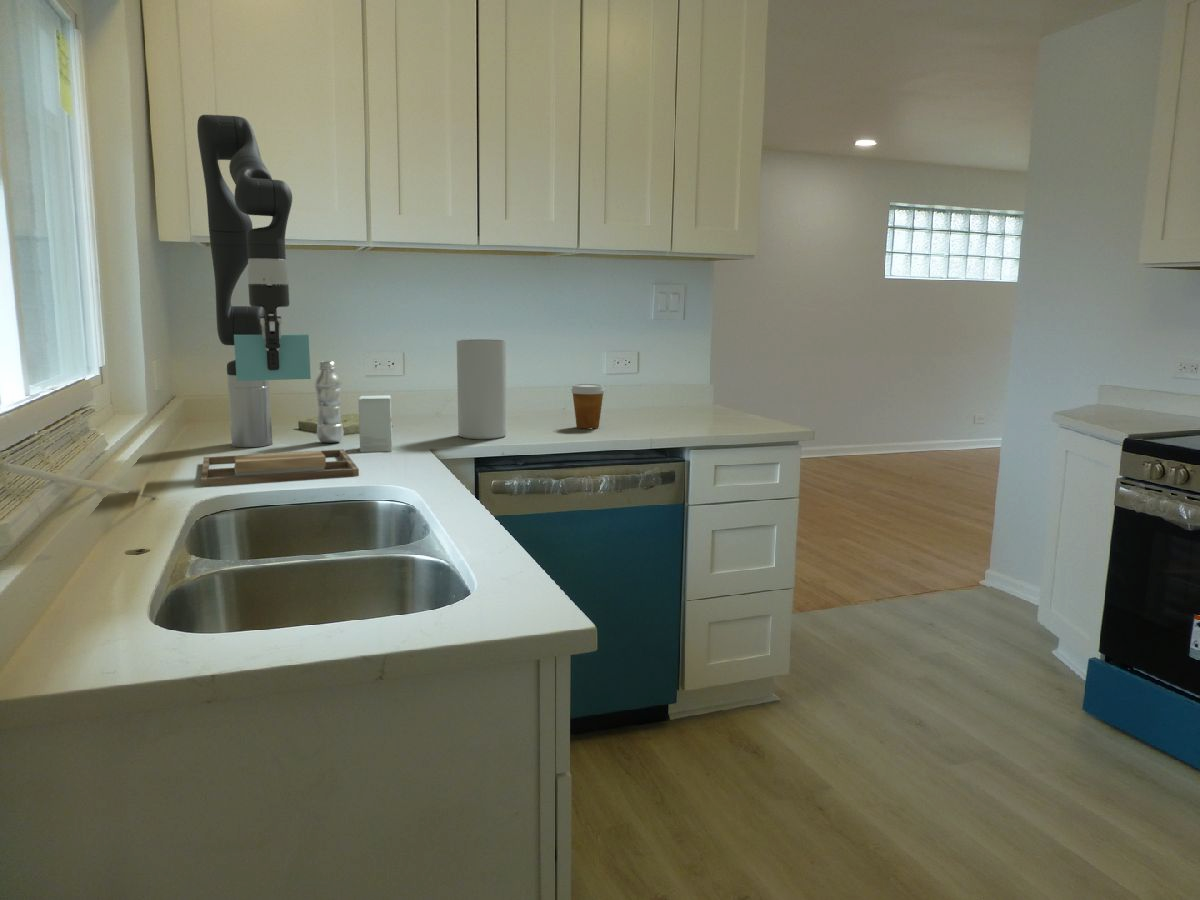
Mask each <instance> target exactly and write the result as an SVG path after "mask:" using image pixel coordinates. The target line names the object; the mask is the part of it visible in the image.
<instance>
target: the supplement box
mask: <svg viewBox="0 0 1200 900" xmlns="http://www.w3.org/2000/svg"><path fill="white" fill-rule="evenodd" d="M357 400H358V414H359V432H360V434H359V452H360V453H379V452H380V453H381V452H385V453H386V452H392V449H393V428H392V426H393V421H392V420H393V419H392V395H389V394H387V395H384V394H383V395H361V396H359V398H358V399H357Z"/></svg>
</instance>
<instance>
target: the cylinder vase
mask: <svg viewBox="0 0 1200 900" xmlns="http://www.w3.org/2000/svg"><path fill="white" fill-rule="evenodd" d="M506 344H507V343H506V340H505V339H493V338H492V339H491V338H490V339H487V338H485V339H484V338H483V339H482V338H480V339H477V338H476V339H473V338H471V339H457V340H456V374H457V376H456V377H457V379H456V380H457V385H456V386H457V423H458V424H457V426H458V427H457V428H458V430H457V431H458V436H459V437H461V438H462V437H463V439H468V440H495V439H501V438H503V437H506V435H507V365H506V364H507V362H506V361H507V359H506V358H507V357H506V355H507V354H506V353H507V349H506V348H507V346H506Z"/></svg>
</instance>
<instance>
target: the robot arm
mask: <svg viewBox="0 0 1200 900" xmlns="http://www.w3.org/2000/svg"><path fill="white" fill-rule="evenodd" d="M196 124H197V125H196V126H197V129H196V130H197V131H196V133H197V140H198V147H199V153H200V154H199V155H200V159H201V166H202V167H201V168H202V172H203V178H204V185H205V193H206V206H207V221H208V233H209V242H210V251H211V258H212V265H213V266H212V267H213V275H214V288H215V309H216V312H215V313H216V330H217V335H218V339H219V341H220V343H221V344H222V345H224V346H235V345H234V335H263V339H264V340H265V341H266V344H265V350H266V351H269V352H267V366H268V369H269V370H278V369H279V352H278V351H279V349H280V344H279V339H280V338H281V335H282V332H281V331H282V329H281V325H282V316H281V315H278V310H277V308H281V307H282V308H283V307H284V308H287V307H289V306H290V291H289V290H290V288H289V273H288V266H287V260H286V259H287V257H286V255H287V254H286V232H287V231H286V230H287V225H288V221H289V216H290V212H291V208H292V203H293V193H292V191H291V190H292V189H291V188H290V186H289V184H288V183H286V182H285V181H284V180H280V179H273V178H272V175H271V173H270V171H269V170H268V168H267V167H266V165H265V163H264V162H263V160H262V157H261V156H262V155H261V153H260V149H259V146H258V141H257V139H256V135H255V132H254V129H253V127H252V125H251V123H250V122H249V121H248V120H247V119H246V118H244V117H242V116H236V115H223V114H222V115H221V114H220V115H219V114H218V115H217V114H202V115H200V116H199V117H198V119H197V123H196ZM219 161H229V167H228V168H229V169H228V170H229V174H230V177H231V179H232V180H233V183H234V184H235V189H234V193H233V192H232V191H231V189H230V187H229V186H228V184H227V182H226V181H225V179H224V177H223V174H222V173H221V169H220V167H219ZM250 216H262V217H272V219H271V222H270V223H269V225H267V226H263V227H262V226H261V227H257V228H256V227H255V228H253V222H252V219H251V217H250ZM246 267H247V283H248V284H247V285H248V302H249V306H246V305H244V306H242V305H240V306H239V305H238V306H236V305H235V306H234V305H233V306H232V302H231V300H232V296H233V293H234V290H235V287H236V285H237V283H238V280H240V277H241V276H242V275H243V272H244V271H245V269H246ZM269 339H275V340H276V342H269ZM226 379H227V390H228V405H229V406H228V407H229V409H228V410H229V423H230V435H231V446H232V447H234V448H235V447H236V448H255V447H264V446H266V447H267V446H270V445H273V429H272V426H273V425H272V409H271V392H270V380H252V381H237V377H236V361H235V359H234V360H231V361H229V362H227V364H226Z"/></svg>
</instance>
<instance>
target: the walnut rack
mask: <svg viewBox="0 0 1200 900" xmlns="http://www.w3.org/2000/svg"><path fill="white" fill-rule="evenodd" d="M309 451H310V450H309ZM309 451H306V450H305V452H309ZM320 451H321V452H322V453H323V454H324V455H325V458H333V457H335V458H336V457H338V458H340V459H341V460H335V461H334V460H333V461H326V467H324V470H321V471H306V472H291V473H276V474H261V475H245V476H235V468H234V467H224V468H223V467H222V468H210V465H219V464H220V465H221V464H235V457H234V456H243V455H244V454H240V455H239V454H237V455H223V456H222V455H221V456H220V455H219V456H203V460H202V467H201V470H202V471H201V476H200V486H201V488H203V487H216V486H230V485H231V486H233V485H245V484H247V485H248V484H258V483H261V484H262V483H276V482H288V481H302V480H306V481H307V480H315V479H316V480H319V479H331V478H348V477H359V476H360V469H359V468H358V466H357V465H356V463H355V462H354V461H353V459H351V457H350V456H349V455H348V453H347V452H346V451H345V450H344V448H343V449H342V448H341V449H328V450H327V449H326V450H325V449H324V450H320ZM293 452H294V451H291V452H290V451H289V452H288V451H287V453H293ZM276 453H277V452H274V453H273V452H271V453H270V454H276ZM260 454H261V453H259V454H258V453H257V454H256V453H255V454H252V455H260Z"/></svg>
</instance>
